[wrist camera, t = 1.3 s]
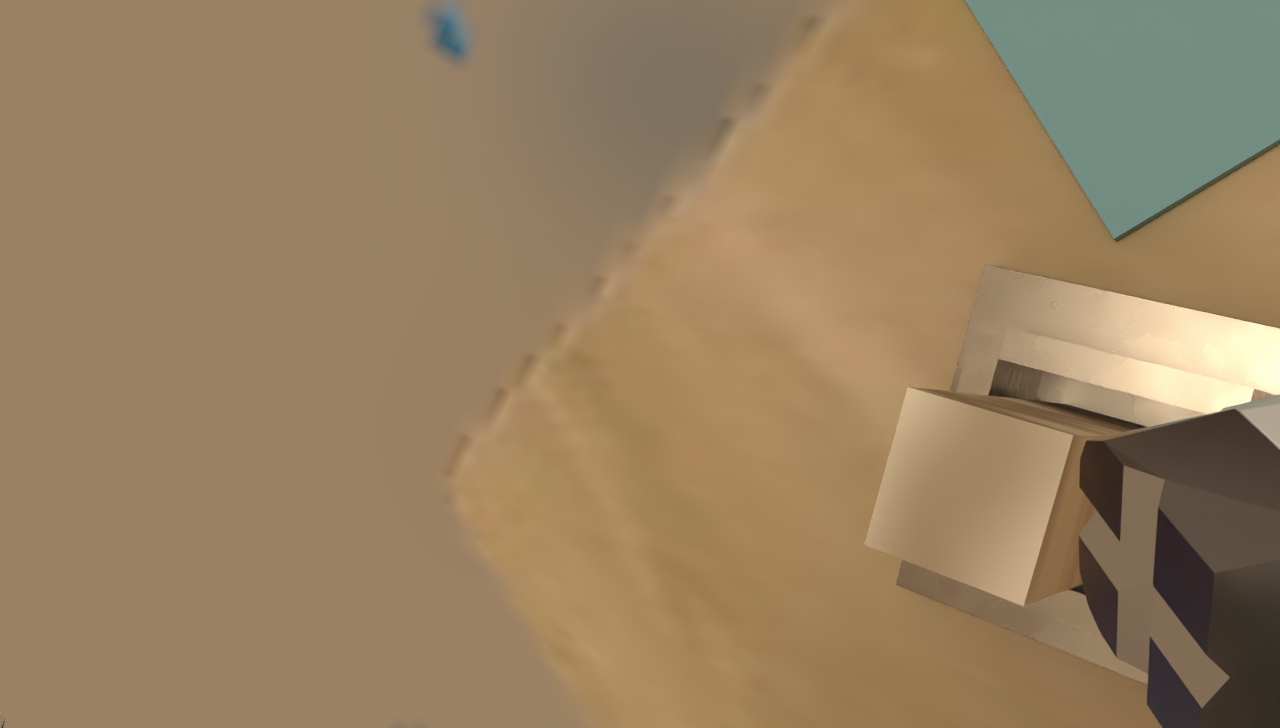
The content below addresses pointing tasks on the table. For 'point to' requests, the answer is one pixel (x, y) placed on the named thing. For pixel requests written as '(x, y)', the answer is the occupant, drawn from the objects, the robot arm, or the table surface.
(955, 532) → the maple bar
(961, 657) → the table surface
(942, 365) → the table surface
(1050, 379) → the tan hollow square block
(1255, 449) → the robot arm
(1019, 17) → the teal mat
